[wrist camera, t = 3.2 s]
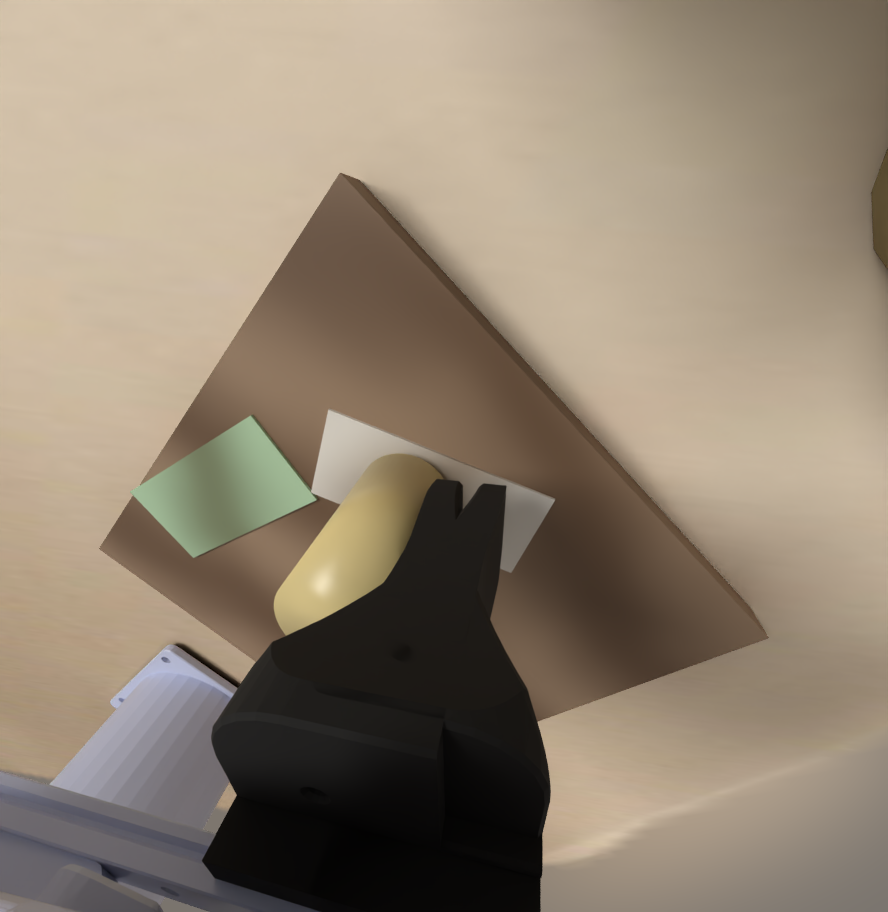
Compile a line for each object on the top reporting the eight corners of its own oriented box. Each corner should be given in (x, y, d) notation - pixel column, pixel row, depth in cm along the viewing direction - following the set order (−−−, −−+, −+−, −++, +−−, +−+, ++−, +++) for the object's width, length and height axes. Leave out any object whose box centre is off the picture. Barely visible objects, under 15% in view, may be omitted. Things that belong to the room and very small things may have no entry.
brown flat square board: (411, 744, 22) (404, 771, 21) (121, 529, 18) (94, 548, 17) (750, 608, 14) (770, 640, 13) (356, 176, 10) (334, 167, 9)
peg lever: (402, 713, 18) (362, 862, 14) (298, 676, 18) (225, 811, 14) (495, 483, 12) (475, 622, 7) (334, 429, 12) (223, 535, 8)
